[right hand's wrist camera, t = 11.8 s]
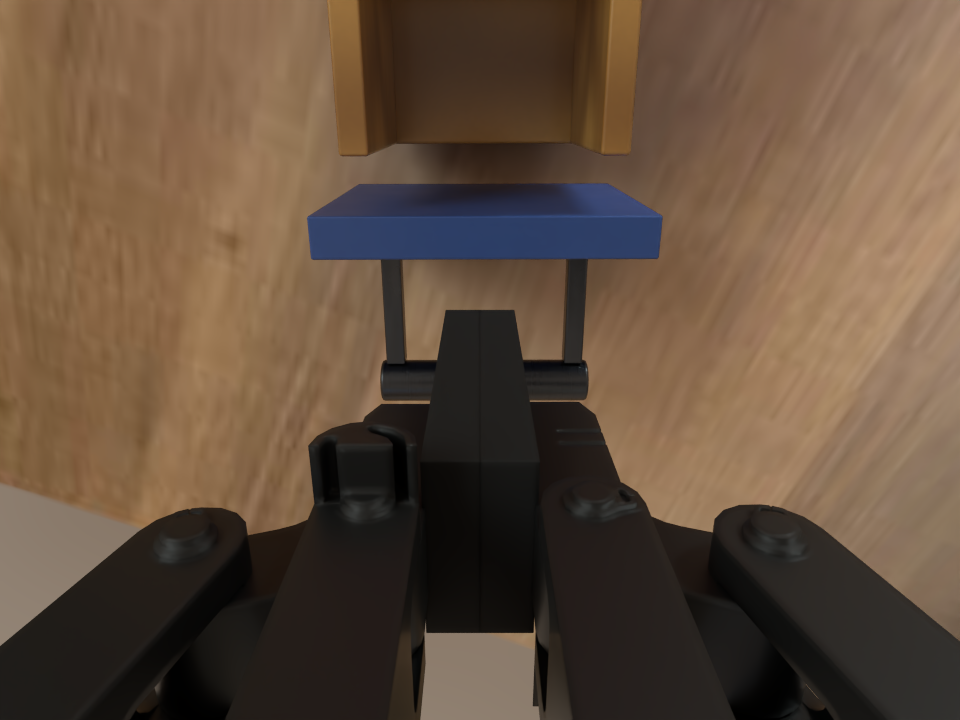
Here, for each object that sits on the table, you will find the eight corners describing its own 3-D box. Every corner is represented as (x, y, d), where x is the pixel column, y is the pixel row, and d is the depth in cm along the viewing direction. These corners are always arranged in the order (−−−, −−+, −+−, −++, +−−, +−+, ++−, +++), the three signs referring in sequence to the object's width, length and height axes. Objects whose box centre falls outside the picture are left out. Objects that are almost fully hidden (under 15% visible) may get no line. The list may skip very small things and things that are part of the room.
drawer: (598, 341, 27) (642, 429, 20) (369, 342, 27) (327, 430, 20) (649, -433, 19) (762, -792, 11) (316, -433, 19) (208, -789, 11)
